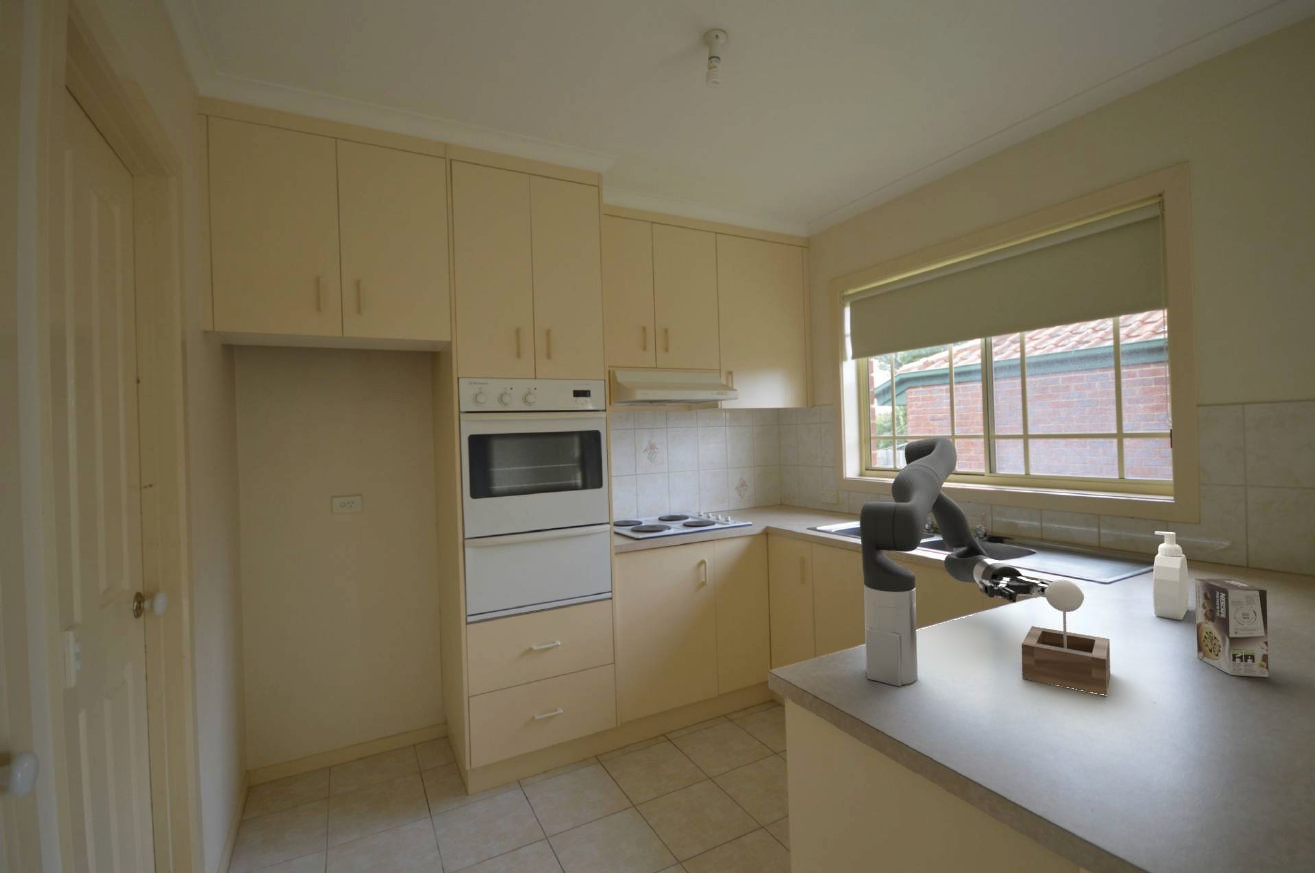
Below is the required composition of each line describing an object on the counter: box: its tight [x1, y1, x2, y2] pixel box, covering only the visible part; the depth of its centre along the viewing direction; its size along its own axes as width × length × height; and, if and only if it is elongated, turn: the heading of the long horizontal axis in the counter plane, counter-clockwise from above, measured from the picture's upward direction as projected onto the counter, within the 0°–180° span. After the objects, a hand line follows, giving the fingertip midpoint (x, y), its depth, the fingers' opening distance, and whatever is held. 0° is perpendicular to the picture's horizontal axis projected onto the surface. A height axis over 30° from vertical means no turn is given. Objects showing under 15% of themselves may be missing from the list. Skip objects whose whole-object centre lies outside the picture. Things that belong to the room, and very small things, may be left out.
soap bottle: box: [1152, 530, 1189, 621], centre depth 145 cm, size 16×5×20 cm, turn 133°
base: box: [1021, 625, 1111, 696], centre depth 110 cm, size 12×12×6 cm
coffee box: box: [1194, 578, 1270, 678], centre depth 112 cm, size 9×6×16 cm
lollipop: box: [1043, 579, 1085, 649], centre depth 110 cm, size 6×6×15 cm
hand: (1036, 597), depth 119 cm, fingers open, 8 cm apart
